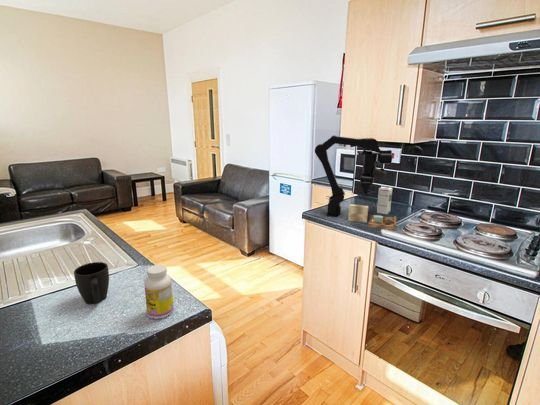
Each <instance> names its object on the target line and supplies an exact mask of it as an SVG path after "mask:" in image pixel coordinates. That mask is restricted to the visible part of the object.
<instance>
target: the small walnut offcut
mask: <svg viewBox="0 0 540 405" xmlns="http://www.w3.org/2000/svg"><path fill="white" fill-rule="evenodd" d="M391 218H392V217H391ZM391 218H385V225H392V219H391Z"/></svg>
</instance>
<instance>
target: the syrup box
mask: <svg viewBox="0 0 540 405" xmlns="http://www.w3.org/2000/svg"><path fill="white" fill-rule="evenodd" d="M392 198H393V187H390V186H382V187H379V188H378V194H377V206H376V207H377V208H376V213H377V214H383V215H389V214H390V213H391V209H392Z"/></svg>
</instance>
